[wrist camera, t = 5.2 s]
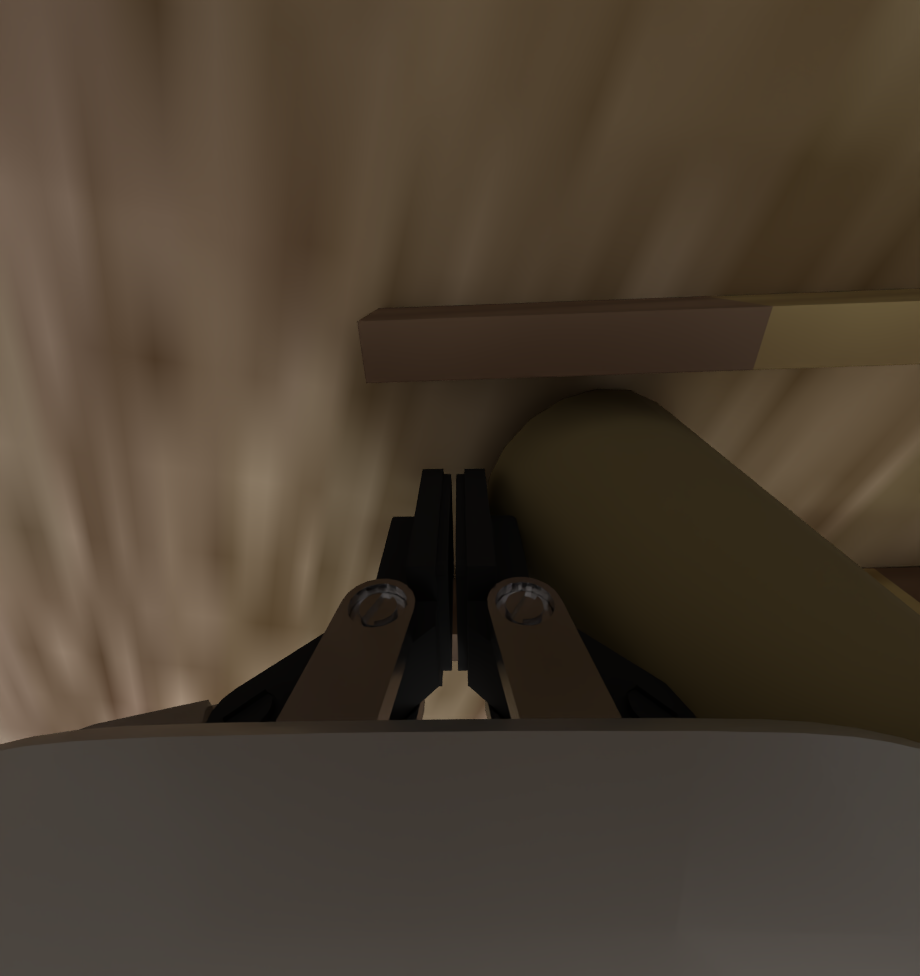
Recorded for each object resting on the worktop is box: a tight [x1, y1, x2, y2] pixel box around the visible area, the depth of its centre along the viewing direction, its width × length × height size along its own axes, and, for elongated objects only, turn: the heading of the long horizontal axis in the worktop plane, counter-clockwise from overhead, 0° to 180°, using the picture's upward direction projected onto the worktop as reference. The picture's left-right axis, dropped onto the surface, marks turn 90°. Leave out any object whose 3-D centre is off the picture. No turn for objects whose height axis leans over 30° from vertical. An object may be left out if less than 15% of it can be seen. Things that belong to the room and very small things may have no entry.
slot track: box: [357, 288, 920, 661], centre depth 11 cm, size 10×25×2 cm, turn 92°
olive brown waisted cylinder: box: [487, 389, 920, 743], centre depth 7 cm, size 6×6×11 cm
